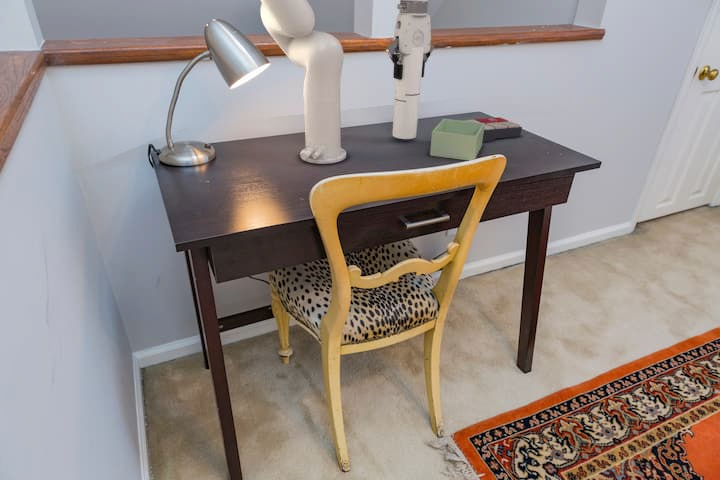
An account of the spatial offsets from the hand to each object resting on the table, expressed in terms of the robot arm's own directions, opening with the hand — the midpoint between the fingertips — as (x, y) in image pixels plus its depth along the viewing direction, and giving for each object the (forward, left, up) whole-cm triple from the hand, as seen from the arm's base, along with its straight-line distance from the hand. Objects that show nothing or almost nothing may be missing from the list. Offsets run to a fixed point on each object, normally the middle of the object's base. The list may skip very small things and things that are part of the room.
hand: (408, 77), depth 138 cm
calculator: (+16, -23, -19) cm, 34 cm away
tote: (-3, -16, -19) cm, 25 cm away
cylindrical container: (0, 0, -17) cm, 17 cm away
